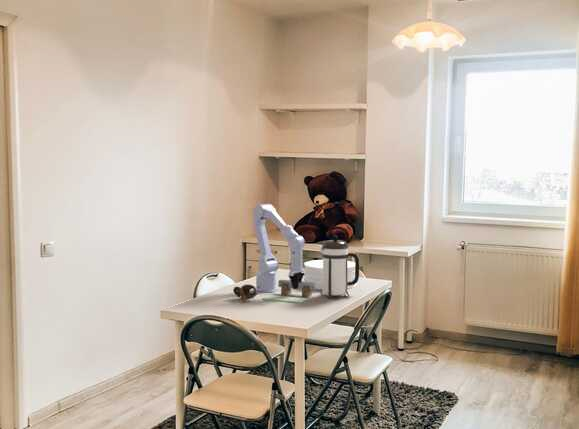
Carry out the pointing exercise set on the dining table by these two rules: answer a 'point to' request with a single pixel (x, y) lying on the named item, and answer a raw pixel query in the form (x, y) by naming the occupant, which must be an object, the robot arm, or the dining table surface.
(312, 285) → the rail
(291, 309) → the dining table surface
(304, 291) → the bracket right
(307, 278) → the plate stack
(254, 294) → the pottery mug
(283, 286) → the bracket left
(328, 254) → the coffee press
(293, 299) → the mat
